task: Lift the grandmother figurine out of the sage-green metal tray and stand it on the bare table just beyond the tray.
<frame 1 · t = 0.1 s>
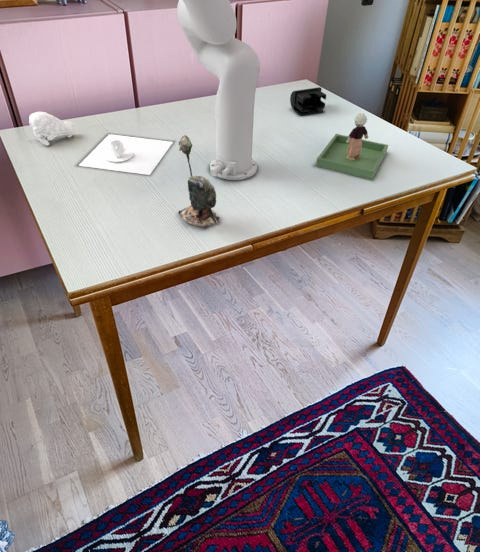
hand: (353, 0, 112), 37 cm above the table, tool pointing down, fingers open, 9 cm apart
teacup and saucer: (128, 153, 129), on the table
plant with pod: (201, 220, 106), on the table
tray: (352, 159, 130), on the table
grandmother figurine: (352, 158, 130), resting on tray
white animal figurine: (56, 140, 134), on the table
end cap: (306, 111, 156), on the table
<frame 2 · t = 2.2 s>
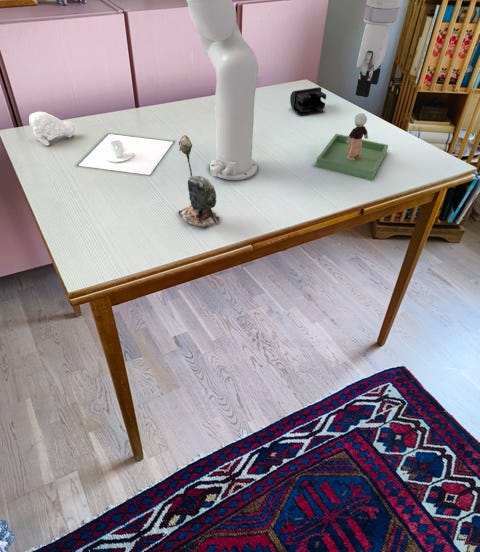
hand: (366, 89, 118), 19 cm above the table, tool pointing down, fingers open, 9 cm apart
nothing on the table moved.
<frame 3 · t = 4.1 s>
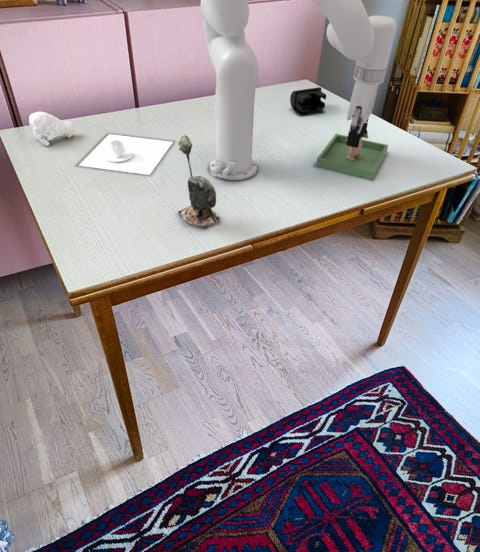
hand: (355, 140, 126), 6 cm above the table, tool pointing down, fingers closed on grandmother figurine, 6 cm apart
grandmother figurine: (352, 158, 130), resting on tray, touching gripper
everything else where it was.
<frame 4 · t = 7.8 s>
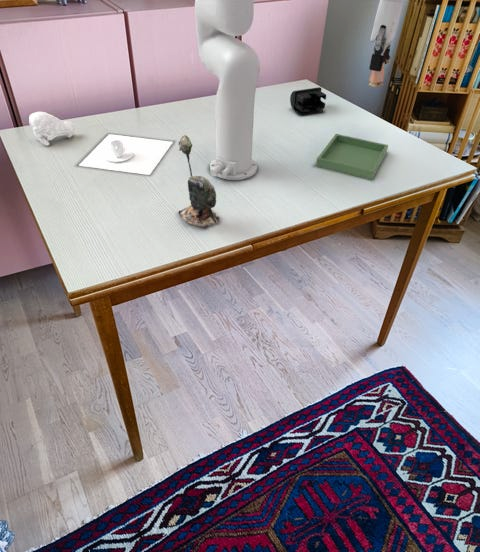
hand: (378, 66, 128), 21 cm above the table, tool pointing down, fingers closed on grandmother figurine, 6 cm apart
grandmother figurine: (374, 85, 131), point 15 cm above the table, touching gripper
everything else where it was.
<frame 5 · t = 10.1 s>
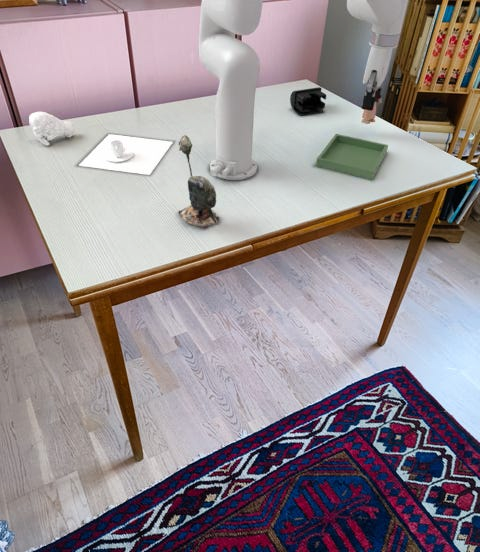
hand: (370, 104, 136), 10 cm above the table, tool pointing down, fingers closed on grandmother figurine, 6 cm apart
grandmother figurine: (367, 122, 140), point 4 cm above the table, touching gripper
everything else where it was.
when the fingers open (5 cm above the table, at t = 11.5 s): grandmother figurine stays where it is, on the table.
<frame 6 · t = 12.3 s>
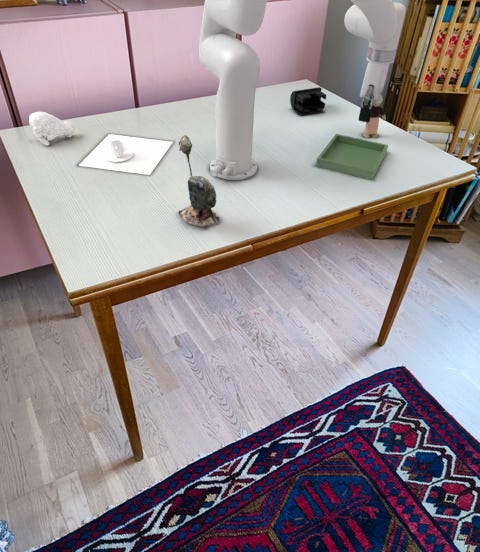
hand: (367, 115, 138), 6 cm above the table, tool pointing down, fingers open, 9 cm apart
grandmother figurine: (368, 136, 142), on the table
everything else where it was.
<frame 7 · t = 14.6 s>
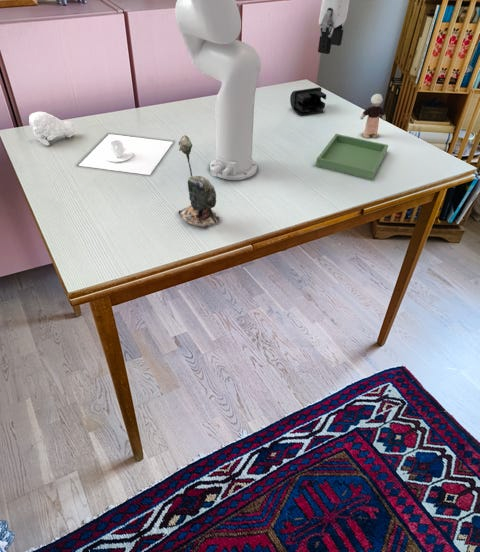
hand: (329, 48, 126), 24 cm above the table, tool pointing down, fingers open, 9 cm apart
nothing on the table moved.
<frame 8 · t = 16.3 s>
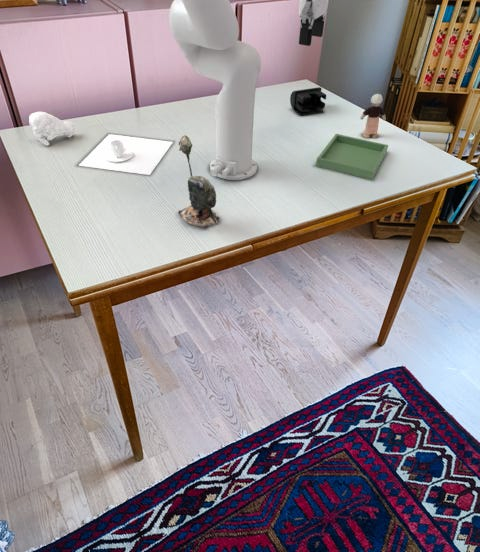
hand: (310, 40, 125), 26 cm above the table, tool pointing down, fingers open, 9 cm apart
nothing on the table moved.
at the end: grandmother figurine inside the target area (1.5 cm from its centre), on the table; grandmother figurine tilted 0°; the gripper is holding nothing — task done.
